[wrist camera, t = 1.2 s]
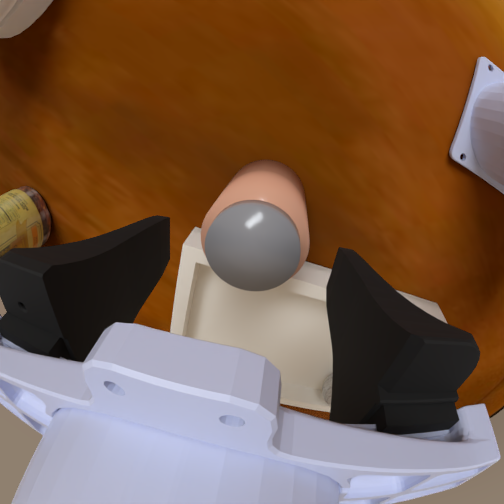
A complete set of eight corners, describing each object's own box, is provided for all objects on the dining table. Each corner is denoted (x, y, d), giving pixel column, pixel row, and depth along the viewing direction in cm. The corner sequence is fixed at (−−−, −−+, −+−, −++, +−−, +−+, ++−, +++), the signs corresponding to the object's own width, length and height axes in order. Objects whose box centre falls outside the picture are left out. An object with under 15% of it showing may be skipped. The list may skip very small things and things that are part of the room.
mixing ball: (365, 366, 24) (369, 397, 21) (347, 387, 26) (349, 416, 23) (331, 359, 24) (333, 392, 21) (315, 381, 26) (315, 411, 23)
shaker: (315, 174, 17) (328, 219, 11) (290, 240, 19) (287, 310, 13) (239, 150, 17) (207, 181, 11) (221, 219, 19) (187, 279, 13)
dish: (437, 303, 20) (447, 323, 18) (358, 397, 27) (360, 416, 25) (195, 226, 20) (183, 243, 18) (174, 351, 27) (166, 370, 25)
